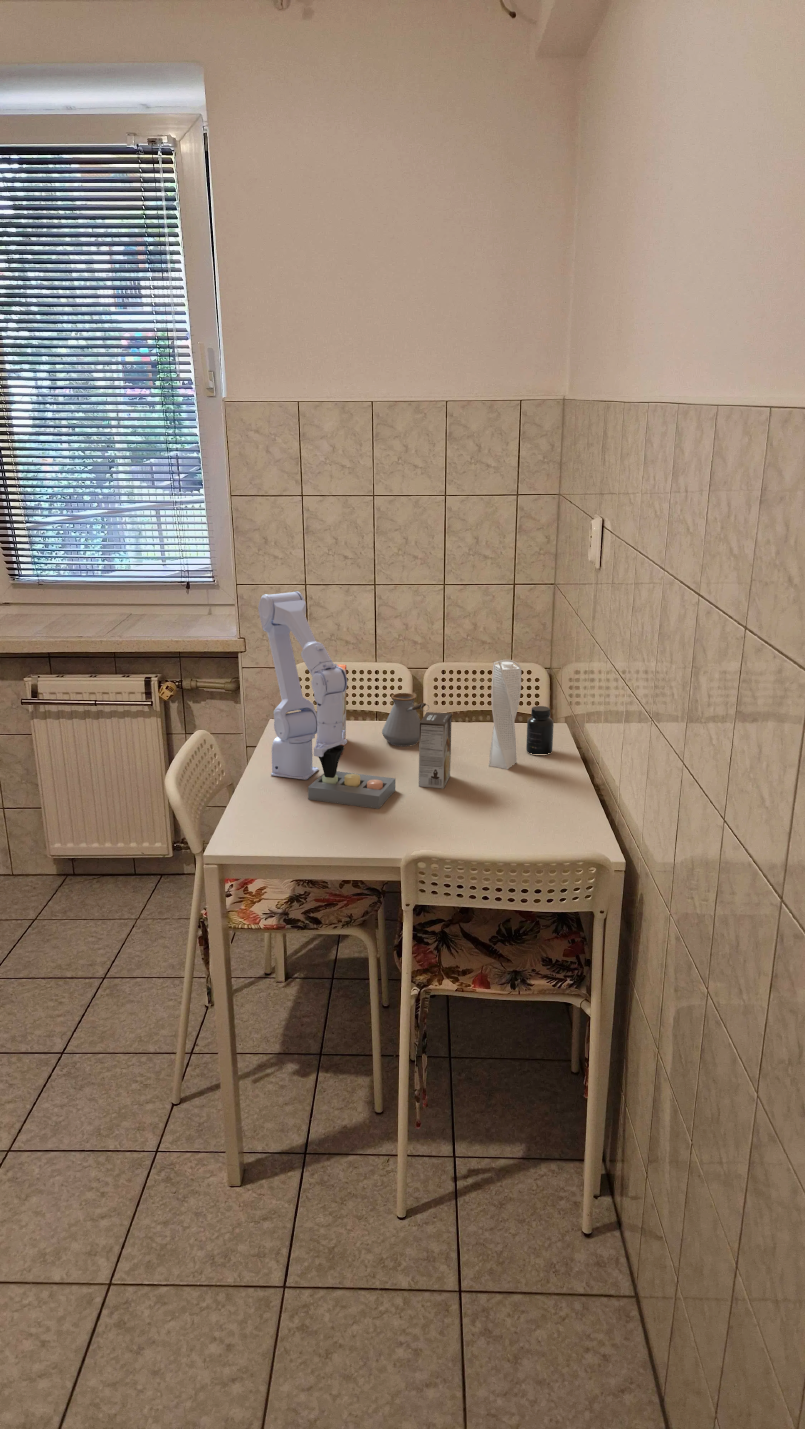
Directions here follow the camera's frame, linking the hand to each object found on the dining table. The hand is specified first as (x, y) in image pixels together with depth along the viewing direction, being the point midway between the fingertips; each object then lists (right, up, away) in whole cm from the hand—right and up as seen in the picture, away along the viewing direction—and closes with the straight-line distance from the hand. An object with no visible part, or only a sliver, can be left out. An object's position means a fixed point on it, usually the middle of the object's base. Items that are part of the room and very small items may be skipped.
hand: (330, 776), depth 231 cm
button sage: (0, -3, +1) cm, 3 cm away
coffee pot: (+19, +5, +33) cm, 38 cm away
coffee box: (+24, -2, +9) cm, 26 cm away
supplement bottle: (+53, +4, +31) cm, 61 cm away
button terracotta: (+10, -4, -2) cm, 11 cm away
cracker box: (-1, +6, +33) cm, 33 cm away
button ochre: (+5, -3, -1) cm, 6 cm away
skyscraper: (+42, +2, +21) cm, 47 cm away
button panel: (+5, -4, 0) cm, 7 cm away
